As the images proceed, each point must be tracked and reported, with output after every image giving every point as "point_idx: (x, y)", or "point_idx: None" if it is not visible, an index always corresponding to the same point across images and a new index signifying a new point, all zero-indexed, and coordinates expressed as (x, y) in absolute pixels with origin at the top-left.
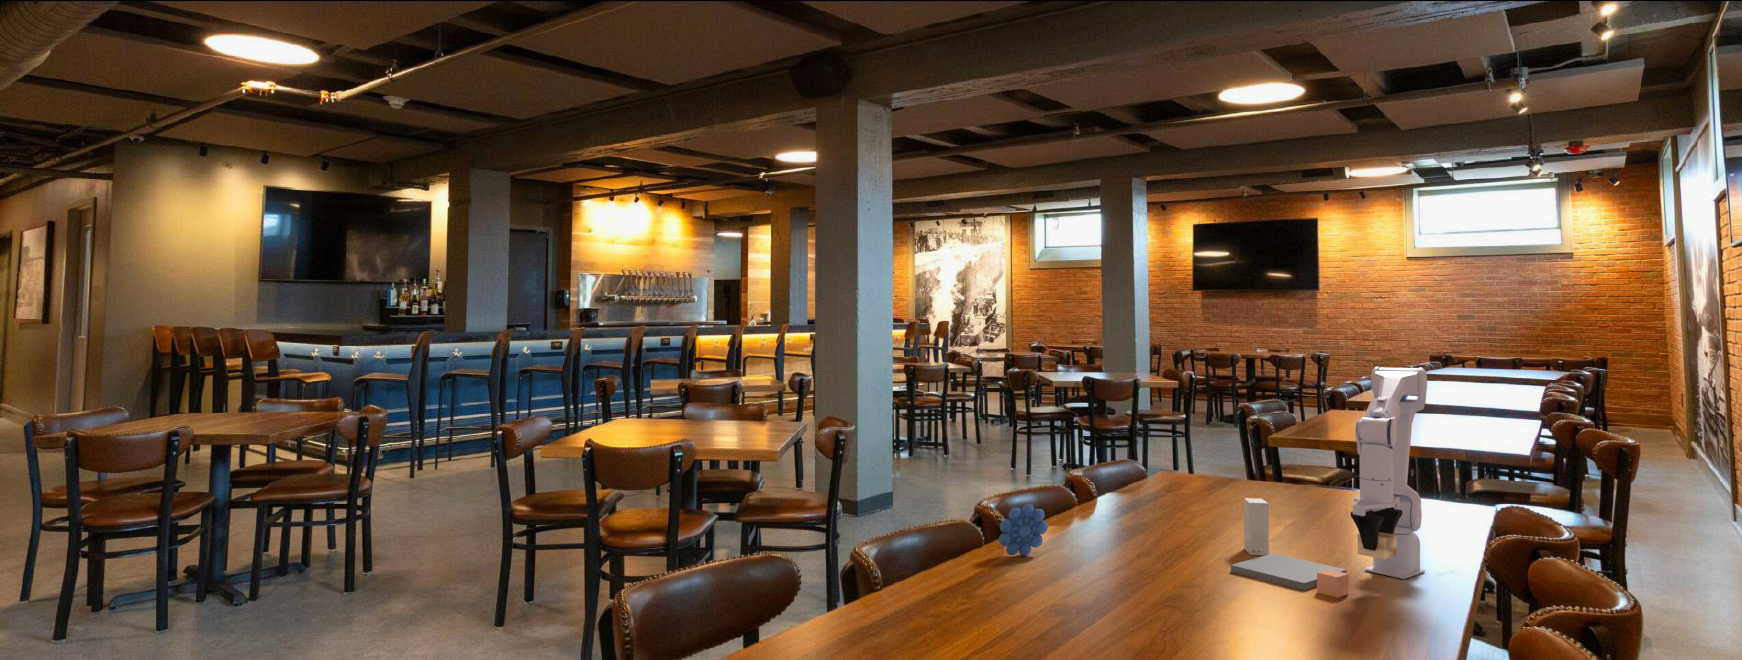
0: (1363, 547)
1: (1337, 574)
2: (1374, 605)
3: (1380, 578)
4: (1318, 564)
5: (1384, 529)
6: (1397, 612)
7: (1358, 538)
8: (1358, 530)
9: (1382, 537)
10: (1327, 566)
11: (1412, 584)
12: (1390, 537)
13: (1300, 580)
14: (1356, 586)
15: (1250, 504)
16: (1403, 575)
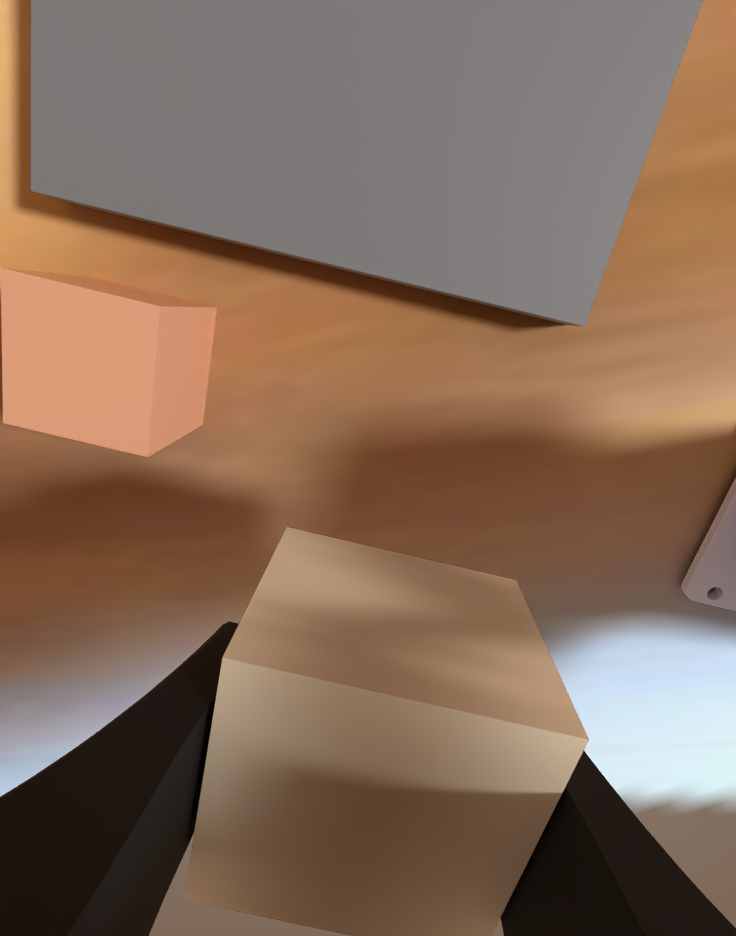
0: (222, 626)
1: (72, 403)
2: (106, 559)
3: (647, 488)
4: (632, 96)
5: (546, 926)
6: (84, 645)
7: (242, 626)
8: (74, 750)
9: (237, 884)
10: (603, 182)
11: (608, 628)
12: (334, 924)
13: (66, 144)
14: (382, 422)
15: None
16: (724, 590)
